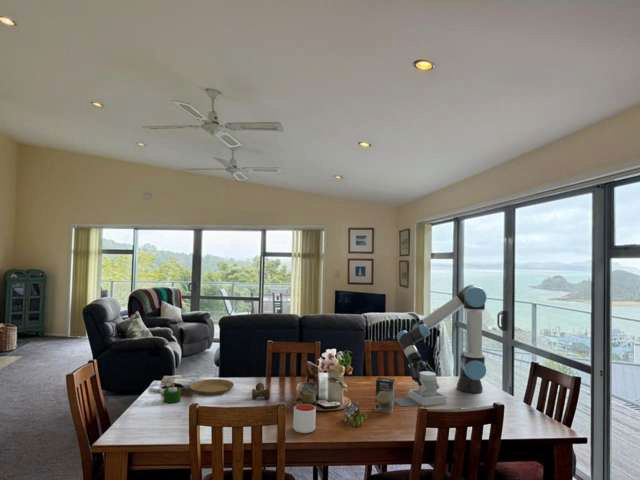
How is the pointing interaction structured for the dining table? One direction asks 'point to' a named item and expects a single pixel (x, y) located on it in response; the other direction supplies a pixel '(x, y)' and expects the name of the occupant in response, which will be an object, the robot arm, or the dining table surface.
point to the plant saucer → (212, 387)
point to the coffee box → (384, 395)
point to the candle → (172, 395)
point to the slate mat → (405, 402)
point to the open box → (427, 398)
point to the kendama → (260, 391)
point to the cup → (304, 418)
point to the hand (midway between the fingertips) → (431, 389)
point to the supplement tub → (428, 384)
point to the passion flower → (352, 410)
